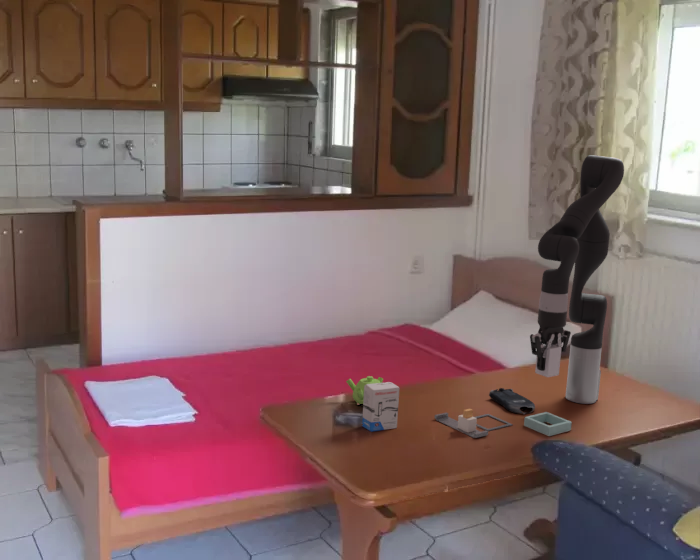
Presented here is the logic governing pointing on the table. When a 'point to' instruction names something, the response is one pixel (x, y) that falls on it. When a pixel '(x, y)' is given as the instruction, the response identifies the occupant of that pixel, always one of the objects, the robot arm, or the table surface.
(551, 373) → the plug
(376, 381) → the teapot
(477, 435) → the latch rail
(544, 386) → the table surface
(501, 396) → the electronic device
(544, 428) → the teal square tray
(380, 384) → the ink box
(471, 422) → the latch tab
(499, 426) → the grey square frame
